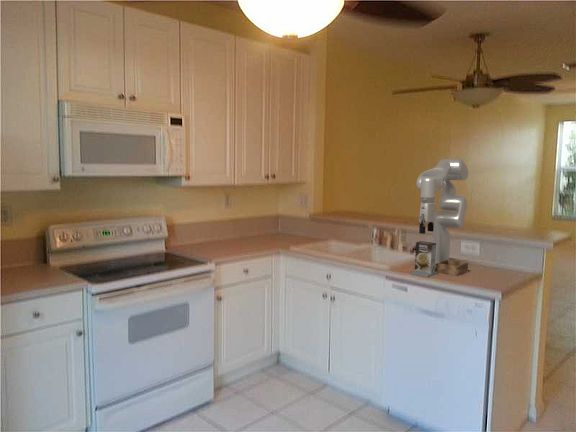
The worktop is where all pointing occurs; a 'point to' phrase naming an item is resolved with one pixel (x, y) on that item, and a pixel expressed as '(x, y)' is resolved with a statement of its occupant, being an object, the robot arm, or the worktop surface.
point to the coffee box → (425, 257)
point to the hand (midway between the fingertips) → (426, 232)
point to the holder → (452, 267)
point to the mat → (423, 273)
